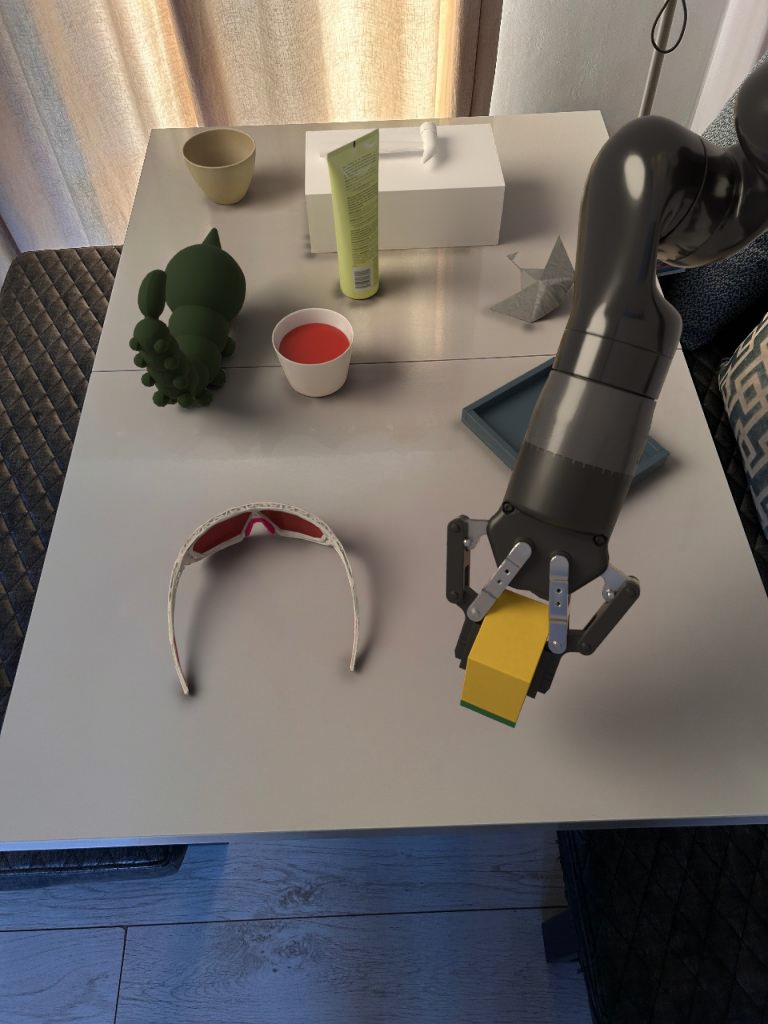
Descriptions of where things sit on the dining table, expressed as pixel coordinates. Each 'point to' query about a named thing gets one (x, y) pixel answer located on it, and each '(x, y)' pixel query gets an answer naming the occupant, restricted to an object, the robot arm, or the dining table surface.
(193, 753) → the dining table surface
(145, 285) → the toy figurine
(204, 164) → the flower pot
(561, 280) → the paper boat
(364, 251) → the tube
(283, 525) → the sunglasses
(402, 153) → the tissue box
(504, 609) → the sponge
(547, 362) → the tray
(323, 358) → the white round cup
